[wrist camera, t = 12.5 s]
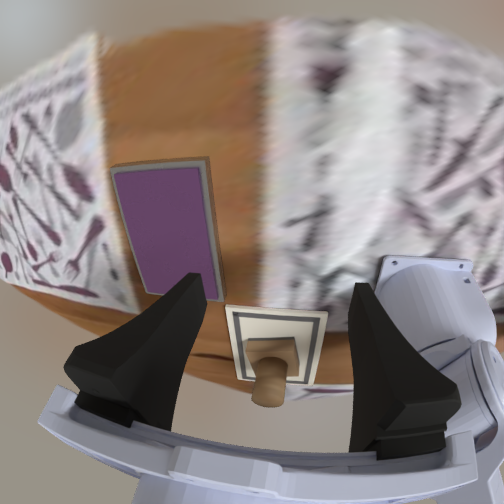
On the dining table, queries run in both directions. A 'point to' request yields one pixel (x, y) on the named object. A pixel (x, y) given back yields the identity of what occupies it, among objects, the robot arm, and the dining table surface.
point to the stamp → (272, 368)
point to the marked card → (277, 325)
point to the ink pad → (171, 222)
